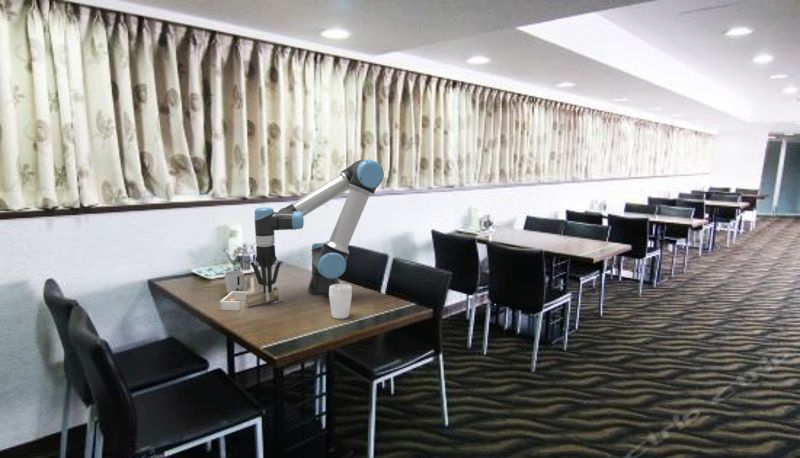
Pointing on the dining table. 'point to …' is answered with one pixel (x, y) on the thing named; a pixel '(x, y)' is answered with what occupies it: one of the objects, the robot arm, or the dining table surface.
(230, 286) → the cup
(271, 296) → the tan wooden bar
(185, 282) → the dining table surface
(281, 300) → the pivot base
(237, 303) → the white u-shaped bracket
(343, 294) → the cup
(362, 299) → the dining table surface
